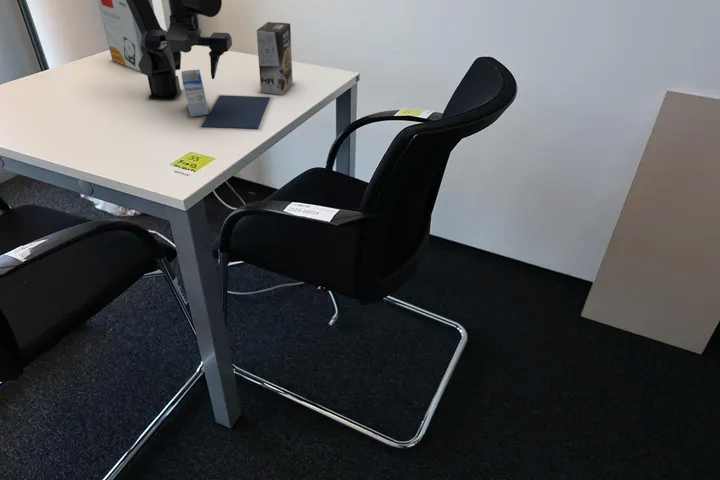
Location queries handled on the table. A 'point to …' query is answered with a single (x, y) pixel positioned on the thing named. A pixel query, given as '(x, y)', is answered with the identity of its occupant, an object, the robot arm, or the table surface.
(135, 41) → the hard drive box
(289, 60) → the coffee box
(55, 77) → the table surface
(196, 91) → the medicine box
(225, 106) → the mat
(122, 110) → the table surface
